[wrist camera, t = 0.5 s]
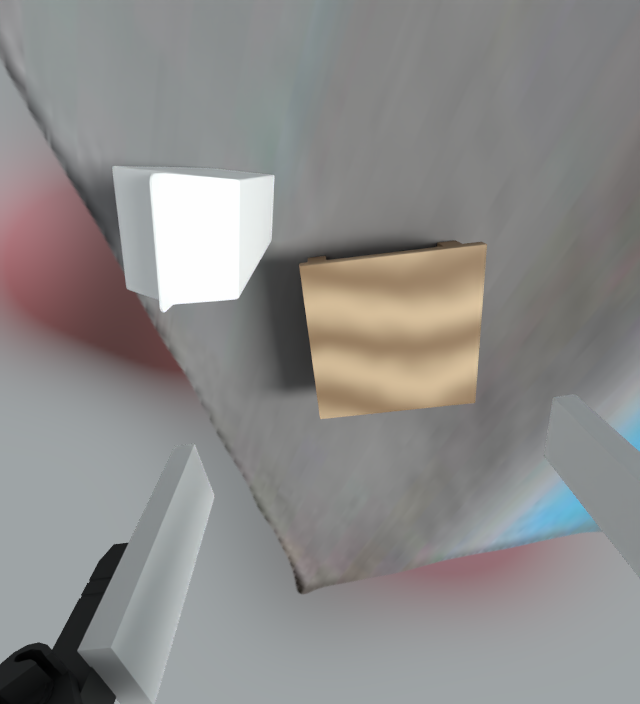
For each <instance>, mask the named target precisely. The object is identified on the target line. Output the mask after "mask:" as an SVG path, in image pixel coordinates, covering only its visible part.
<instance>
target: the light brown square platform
mask: <svg viewBox="0 0 640 704" xmlns="http://www.w3.org/2000/svg"><path fill="white" fill-rule="evenodd" d="M486 250H487V244H485V243H483V242H476V243H467V244H461V243H459V242H457V241H447V242H438V243H437V247H433V248H425V249H417V250H408V251H400V252H391V253H383V254H374V255H366V256H357V257H349V258H340V259H332V260H326V256H321V257H312V258H308V262H307V263H300V265H299V268H300V275H301V282H302V290H303V297H304V304H305V312H306V319H307V326H308V333H309V341H310V348H311V355H312V363H313V370H314V377H315V384H316V392H317V399H318V406H319V413H320V419H325V418H335V417H344V416H354V415H363V414H373V413H382V412H392V411H401V410H411V409H420V408H430V407H439V406H449V405H458V404H468V403H475V396H476V383H477V370H478V356H479V343H480V330H481V316H482V303H483V290H484V276H485V263H486Z"/></svg>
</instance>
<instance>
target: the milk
mask: <svg viewBox="0 0 640 704" xmlns="http://www.w3.org/2000/svg"><path fill="white" fill-rule="evenodd" d="M112 172H113V180H114V188H115V197H116V205H117V213H118V222H119V230H120V238H121V247H122V255H123V263H124V272H125V280H126V287H127V289H128V290H131V291H134V292H137V293H140V294H143V295H146V296H148V297H151V298H154V299H157V300H159V305H160V310H161V311H162V312H166V311H167V310H168V309H169V308H170V307H171V306H172V305H174V304H185V303H198V302H210V301H222V300H234V299H238V298H239V296H240V294H241V293H242V291H243V289H244V287H245V286H246V284H247V282H248V281H249V279H250V277H251V275H252V274H253V272H254V270H255V268H256V267H257V265H258V263H259V261H260V260H261V258H262V256H263V254H264V253H265V251H266V249H267V247H268V246H269V244H270V242H271V240H272V218H273V196H274V175H270V174H261V173H252V172H243V171H234V170H225V169H216V168H191V167H142V166H113V167H112Z"/></svg>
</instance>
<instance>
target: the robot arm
mask: <svg viewBox="0 0 640 704" xmlns="http://www.w3.org/2000/svg"><path fill="white" fill-rule="evenodd" d="M544 457H545V458H546V459H547V460H548V462H549V463H550V464H551V466H552V467H553V468H554V469H555V471H556V472H557V473H558V475H559V476H560V477H561V478H562V480H563V481H564V482H565V484H566V485H567V486H568V487H569V489H570V490H571V491H572V492H573V494H574V495H575V496H576V498H577V499H578V500H579V501H580V503H581V504H582V505H583V507H584V508H585V509H586V510H587V512H588V513H589V514H590V516H591V517H592V518H593V519H594V521H595V522H596V523H597V524H598V526H599V527H600V528H601V530H602V531H603V532H604V533H605V535H606V536H607V537H608V539H609V540H610V541H611V542H612V544H613V545H614V546H615V548H616V549H617V550H618V551H619V553H620V554H621V555H622V557H623V558H624V559H625V560H626V562H627V563H628V564H629V565H630V567H631V568H632V569H633V571H634V572H635V573H636V574H637V576H638V577H639V578H640V452H639V451H638V450H637V449H636V448H635V447H633V446H632V445H631V444H630V443H629V442H628V441H627V440H626V439H625V438H623V437H622V436H621V435H620V434H619V433H618V432H617V431H616V430H614V429H613V428H612V427H611V426H610V425H609V424H608V423H607V422H606V421H604V420H603V419H602V418H601V417H600V416H599V415H598V414H597V413H595V412H594V411H593V410H592V409H591V408H590V407H589V406H588V405H587V404H585V403H584V402H583V401H582V400H581V399H580V398H579V397H578V396H576V395H575V394H574V395H566V396H559V397H553V402H552V408H551V414H550V421H549V427H548V433H547V440H546V446H545V452H544ZM214 497H215V496H214V493H213V491H212V488H211V485H210V483H209V480H208V478H207V475H206V472H205V470H204V467H203V464H202V462H201V459H200V457H199V454H198V451H197V449H196V446H195V444H189V445H181V446H175V447H174V449H173V451H172V453H171V455H170V457H169V460H168V461H167V464H166V466H165V468H164V470H163V472H162V474H161V476H160V478H159V481H158V483H157V485H156V487H155V489H154V491H153V493H152V495H151V497H150V500H149V502H148V503H147V506H146V508H145V510H144V512H143V514H142V516H141V518H140V520H139V522H138V525H137V526H136V529H135V531H134V533H133V535H132V537H131V539H130V541H129V543H123V544H114V545H113V546H112V547H111V548H110V550H109V551H108V552H107V553H106V554H105V555H104V556H103V557H102V559H101V560H100V561H99V562H98V564H97V566H96V568H95V570H94V572H93V574H92V576H91V577H90V582H89V583H87V585H86V587H85V589H84V591H83V593H82V594H81V595H82V597H81V599H79V600H78V602H77V604H76V606H75V608H74V610H73V611H72V613H71V615H70V617H69V619H68V621H67V623H66V625H65V627H64V628H63V631H62V633H61V634H60V636H59V638H58V640H57V642H56V644H55V646H54V647H53V649H52V650H51V649H50V647H49V646H48V645H46V644H42V643H34V644H30V645H27V646H25V647H23V648H21V649H20V650H18V651H16V652H14V653H13V654H12V655H11V656H9V657H8V658H7V659H6V660H5V661H4V662H2V663H1V664H0V704H114V702H115V699H117V700H118V701H119V702H120V704H155V701H156V698H157V694H158V691H159V687H160V684H161V680H162V677H163V673H164V670H165V667H166V663H167V659H168V656H169V653H170V649H171V646H172V642H173V639H174V635H175V632H176V628H177V625H178V621H179V618H180V614H181V611H182V608H183V604H184V601H185V597H186V594H187V590H188V587H189V583H190V580H191V576H192V573H193V569H194V566H195V563H196V559H197V556H198V552H199V549H200V545H201V542H202V538H203V535H204V531H205V528H206V524H207V521H208V517H209V514H210V510H211V507H212V504H213V500H214Z"/></svg>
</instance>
